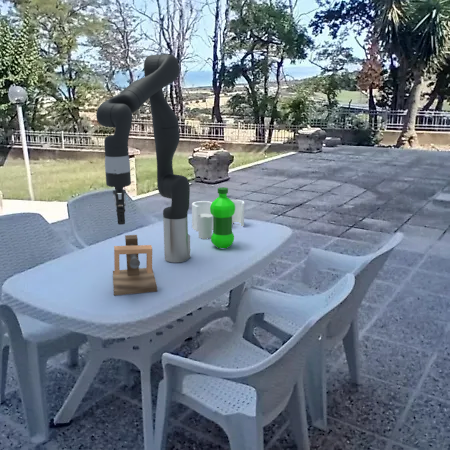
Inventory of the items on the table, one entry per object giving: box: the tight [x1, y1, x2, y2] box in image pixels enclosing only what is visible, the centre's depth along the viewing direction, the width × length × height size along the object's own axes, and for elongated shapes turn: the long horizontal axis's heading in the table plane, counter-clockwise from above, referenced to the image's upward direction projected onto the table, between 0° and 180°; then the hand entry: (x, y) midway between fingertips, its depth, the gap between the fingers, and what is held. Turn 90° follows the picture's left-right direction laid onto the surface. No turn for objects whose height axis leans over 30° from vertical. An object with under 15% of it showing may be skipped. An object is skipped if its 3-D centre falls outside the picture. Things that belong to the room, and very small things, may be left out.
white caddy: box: [191, 199, 245, 232], centre depth 226 cm, size 25×10×12 cm, turn 103°
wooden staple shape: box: [113, 244, 153, 275], centre depth 157 cm, size 12×4×8 cm, turn 104°
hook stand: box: [112, 234, 158, 296], centre depth 159 cm, size 24×14×15 cm, turn 14°
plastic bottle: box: [210, 186, 235, 249], centre depth 197 cm, size 10×10×25 cm
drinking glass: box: [197, 214, 213, 240], centre depth 211 cm, size 7×7×10 cm
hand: (121, 220), depth 152 cm, fingers open, 8 cm apart
